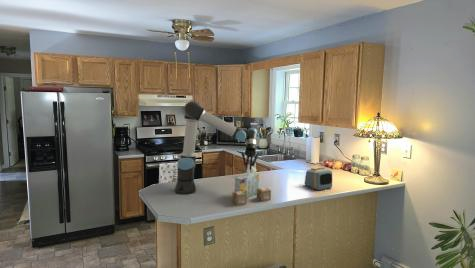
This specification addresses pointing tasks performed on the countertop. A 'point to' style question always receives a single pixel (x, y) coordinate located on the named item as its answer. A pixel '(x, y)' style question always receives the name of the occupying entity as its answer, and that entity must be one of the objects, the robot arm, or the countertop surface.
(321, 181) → the alarm clock
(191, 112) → the robot arm
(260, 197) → the walnut block
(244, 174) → the toy
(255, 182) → the snack box
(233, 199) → the walnut block
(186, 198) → the countertop surface
